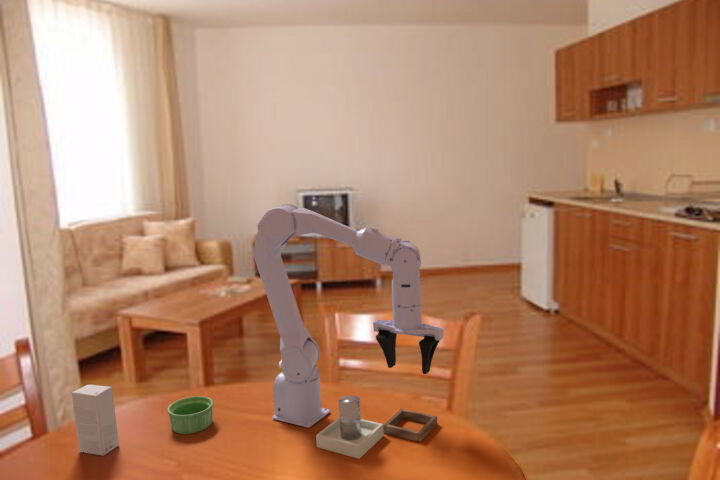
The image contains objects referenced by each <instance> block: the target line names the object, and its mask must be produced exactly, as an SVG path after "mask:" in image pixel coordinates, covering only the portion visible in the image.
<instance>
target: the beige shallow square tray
mask: <svg viewBox="0 0 720 480" xmlns="http://www.w3.org/2000/svg"><path fill="white" fill-rule="evenodd" d="M383 425H384V423H380V422H376V421H371V420H366V419H363V418H361V431H362V435H361V437H360V438H358V439H356V440H345V439H343V438H341V435H340V416H338V418H336V419H335V420H333V421H332V422H331V423H329V425H327V426H326V427H325V428H324V429H322V430H320V432H318V433H317V434H315V437H316V440H315V441H316V448H318V449H322V450H324V451H325V450H326V451H330V452H334V453H336V454H340V455H344V456H348V457H351V458H354V459H358V460H359V459H361V458H362V457H363V456H364V455H365V454H366V453H367V452H368V451H370V449H372V448H373V447H374V446H375V445H376V444H377V443H378V442H379V441H380V440H381V439H382V438H383V437H384V436H385V435H384V434H385V433H384V431H383Z"/></svg>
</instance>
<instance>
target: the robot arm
mask: <svg viewBox="0 0 720 480" xmlns="http://www.w3.org/2000/svg"><path fill="white" fill-rule="evenodd" d="M379 231H380V229H379V228H378V227H376V226H373V227H371V228H369V227H364V228H362V229H355V228H352V227H349V226H348V225H345V224H343V223H341V222H338V221H336V220H334V219H332V218H330V217H327V216H324V215H323V214H320V213H318V212H315V211H314V210H310V209H308V208H305V207H297V206H296V205H294V204H291V203H285V204H281V205H279V206H278V207H274V208H271V209H269V210H267V211H266V212H265V213H264V215H263V216H262V217H261V219H260V221H259V222H258V223H257V231H256V232H257V233H256V236H255V237H256V238H255V240H254V241H255V242H254V246H253V251H252V255H253V259H254V261H255V265H256V267H257V270H258V271H257V272H258V273H259V277H260V279H261V282H262V285H263V289H264V291H265V294H266V297H267V301H268V304H269V306H270V307H269V308H270V310H271V312H272V316H273V319H274V321H275V324H276V327H277V330H278V334H279V336H280V337H279V339H280V340H279V341H280V342H279V352H280V355H281V356H282V357H281V360H282V363H281V370H282V372H281V373H280V374H279V373H278V374H277V375H276V377H275V379H274V382H273V387H272V394H273V395H272V396H273V407H274V415H272V416H271V417H272V419H273V420H275V421H276V420H277V421H280V422H283V423H287V424H293V425H294V426H295V425H296V426H299V427H304V428H308V429H309V428H311V427H312V426H314V425H315V424H316V423H318V422H319V421H320V420H322V419H323V418H324V417H325V416H327V415H328V414H329V413H331V410H330V409H329V408H324V407H322V396H321V379H320V378H321V376H320V371H319V369H318V366H317V364H316V363H317V361H318V360H319V358H320V355H321V350H320V346H319V345H318V343H317V342H316V341H315V340H314V339H313V338H312V336H311V333H310V331H309V330H308V329H307V327H306V326H305V325H304V323H303V319H302V317H301V314H300V310H299V307H298V303H297V301H296V297H295V295H294V292H293V288H292V286H291V283H290V280H289V276H288V273H287V270H286V268H285V267H286V266H285V265H284V264H285V263H284V261H283V257H282V256H281V255H282V253H283V251H284V249H285V248H286V246H287V244H288V242H289V240H290V239H292V237H293V236H294V235H295V236H302V235H309V234H316V235H319V236H322V237H325V238H328V239H330V240H334V241H336V242H339V243H342V244H346V245H348V246H351V247H352V249H353V252H354V254H355V255H357V256H358V257H359V256H360V257H362V258H363V259H367V260H369V261H371V262H374V263H377V264H378V265H382V266H384V267H388V266H389V267H390V269H391V270H392V280H391V300H392V302H391V303H392V320H389V319H387V320H386V319H385V320H384V319H377V320H375V321H373V322H372V323H373V332H377V334H376V335H375V340H376V342H377V343H378V345H379V346H380V347H381V350H382V353H383V355H384V358H385V360H386V361H385V362H386V364H387V368H388V369H392V368H393V367H395V366H396V365H397V364H396V362H397V355H396V354H397V353H396V344H397V335H406V336H407V335H408V336H413V337H414V336H415V337H421V338H422V339H421V340H419V341H418V346H419V349H420V354H421V372H422V374H423V375H427V374H428V373H429V372H431V365H432V361H433V359H434V354H435V351H436V350H437V348H438V345H439V343H440V341H441V340H443V339H444V337H445V336H444V335H445V334H444V328H443V327H439V326H434V325H430V324H427V323H423V316H422V313H423V311H422V283H421V278H420V277H421V271H420V268H421V264H422V260H421V253H420V250H419V248H418V246H416V245H415V244H414V243H412V242H410V240H402V238H401V237H399V236H397V237H396V238H394V237H393V236H390V235H387V234H384V233H382V232H379Z"/></svg>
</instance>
